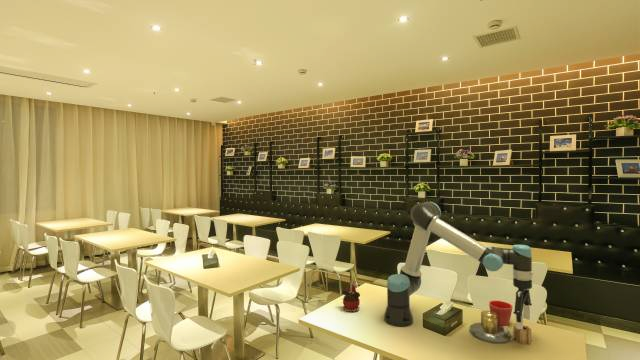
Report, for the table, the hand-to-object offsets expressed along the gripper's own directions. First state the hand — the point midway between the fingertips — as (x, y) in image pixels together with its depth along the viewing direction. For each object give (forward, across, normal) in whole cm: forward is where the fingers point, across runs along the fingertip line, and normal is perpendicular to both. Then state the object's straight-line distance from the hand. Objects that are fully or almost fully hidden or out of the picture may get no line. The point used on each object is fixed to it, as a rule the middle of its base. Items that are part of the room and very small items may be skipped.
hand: (523, 323), depth 155 cm
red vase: (+7, -26, +82) cm, 86 cm away
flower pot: (+8, +13, +13) cm, 20 cm away
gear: (+8, 0, 0) cm, 8 cm away
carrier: (+8, -4, +14) cm, 16 cm away
